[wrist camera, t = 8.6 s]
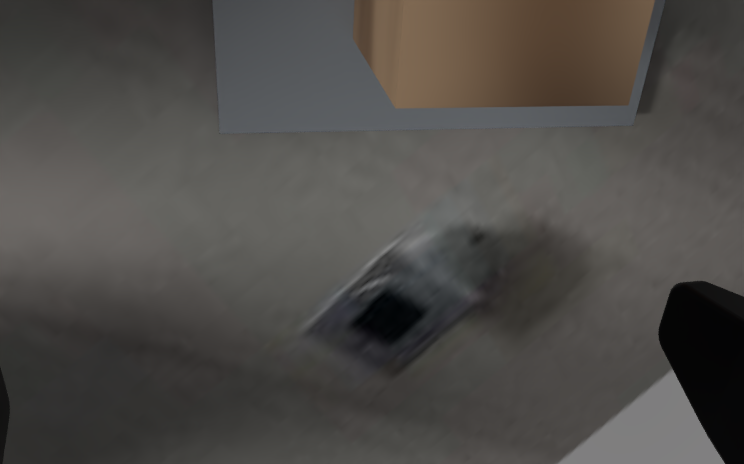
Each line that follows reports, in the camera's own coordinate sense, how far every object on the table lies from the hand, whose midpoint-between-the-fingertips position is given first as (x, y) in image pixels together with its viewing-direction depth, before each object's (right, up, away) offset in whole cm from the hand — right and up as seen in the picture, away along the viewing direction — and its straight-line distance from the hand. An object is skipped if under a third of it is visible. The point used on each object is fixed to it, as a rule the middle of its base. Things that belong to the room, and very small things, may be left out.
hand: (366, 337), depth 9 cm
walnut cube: (+2, +9, +8) cm, 12 cm away
